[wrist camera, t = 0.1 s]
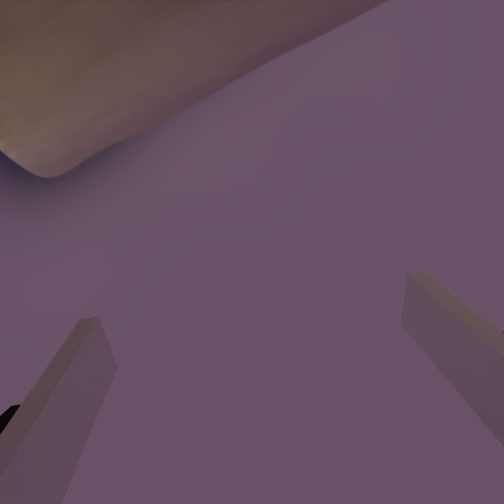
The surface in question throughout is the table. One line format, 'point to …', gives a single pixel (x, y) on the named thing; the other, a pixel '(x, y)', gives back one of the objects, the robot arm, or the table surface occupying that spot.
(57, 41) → the table surface
